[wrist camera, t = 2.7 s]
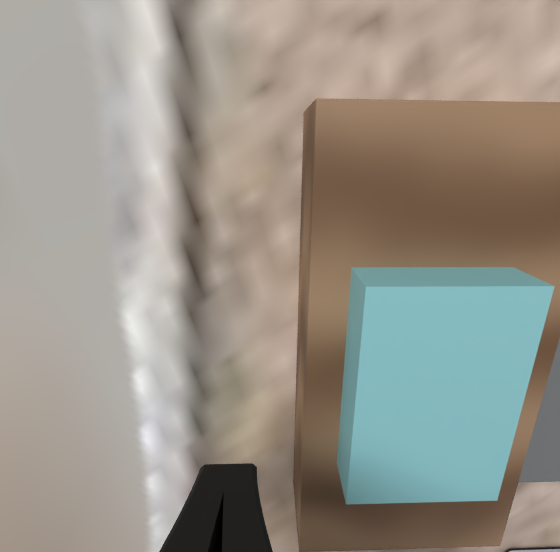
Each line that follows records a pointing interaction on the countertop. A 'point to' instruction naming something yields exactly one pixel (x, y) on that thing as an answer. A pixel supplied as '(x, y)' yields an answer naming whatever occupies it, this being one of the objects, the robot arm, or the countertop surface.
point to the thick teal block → (435, 380)
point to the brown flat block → (414, 253)
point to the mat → (546, 433)
